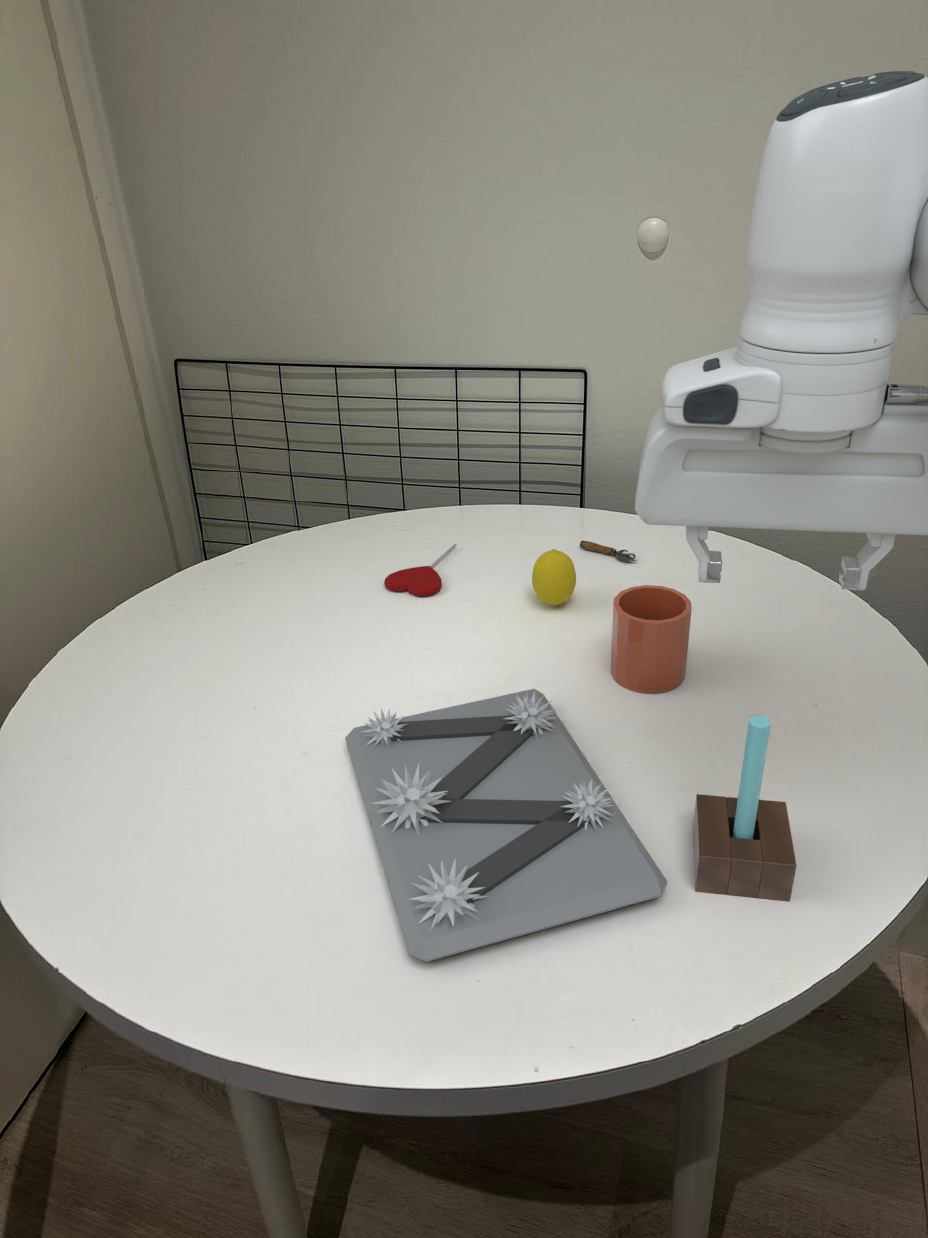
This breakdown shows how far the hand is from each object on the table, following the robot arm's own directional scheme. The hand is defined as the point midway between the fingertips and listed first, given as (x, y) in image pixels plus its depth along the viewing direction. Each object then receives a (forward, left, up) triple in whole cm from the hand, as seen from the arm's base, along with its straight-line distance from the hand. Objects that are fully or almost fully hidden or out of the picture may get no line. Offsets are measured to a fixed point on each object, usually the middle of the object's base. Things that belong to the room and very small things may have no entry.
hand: (779, 582), depth 62 cm
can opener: (+14, -57, -27) cm, 65 cm away
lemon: (+20, -42, -27) cm, 54 cm away
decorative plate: (+22, -3, -27) cm, 35 cm away
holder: (0, 0, -27) cm, 27 cm away
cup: (+8, -28, -27) cm, 40 cm away
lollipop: (+38, -50, -27) cm, 68 cm away
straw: (0, 0, -27) cm, 27 cm away
